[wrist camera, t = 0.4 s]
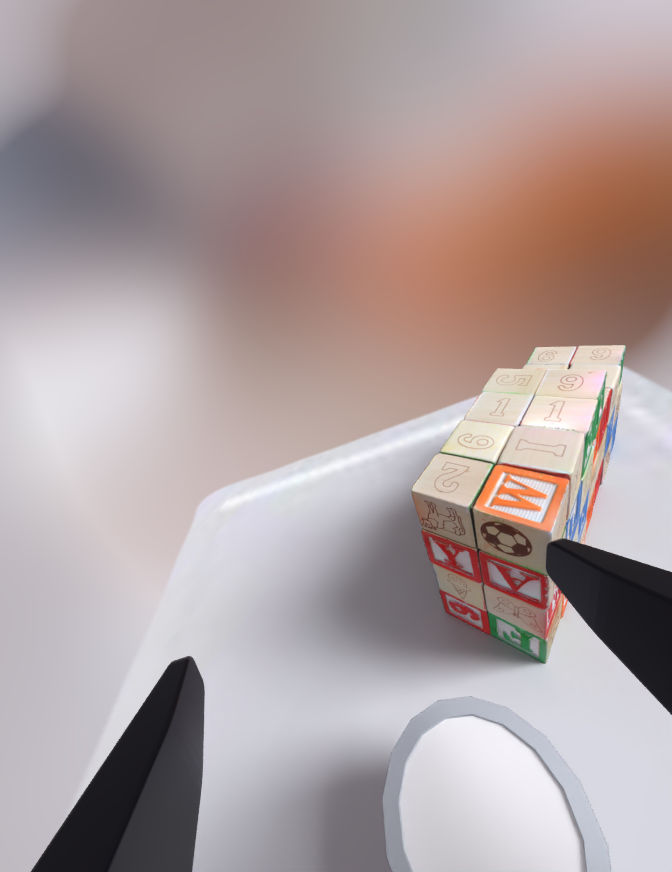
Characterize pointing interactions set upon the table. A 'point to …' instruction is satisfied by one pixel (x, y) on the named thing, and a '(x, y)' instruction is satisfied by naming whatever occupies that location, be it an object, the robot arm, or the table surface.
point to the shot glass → (485, 797)
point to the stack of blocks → (520, 489)
